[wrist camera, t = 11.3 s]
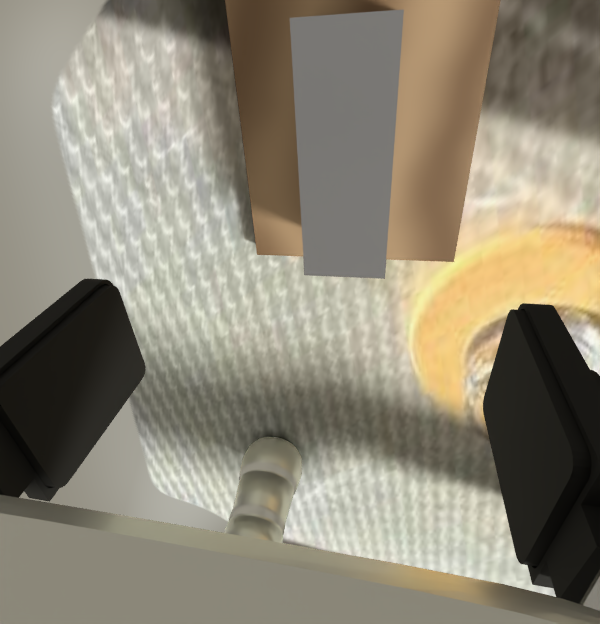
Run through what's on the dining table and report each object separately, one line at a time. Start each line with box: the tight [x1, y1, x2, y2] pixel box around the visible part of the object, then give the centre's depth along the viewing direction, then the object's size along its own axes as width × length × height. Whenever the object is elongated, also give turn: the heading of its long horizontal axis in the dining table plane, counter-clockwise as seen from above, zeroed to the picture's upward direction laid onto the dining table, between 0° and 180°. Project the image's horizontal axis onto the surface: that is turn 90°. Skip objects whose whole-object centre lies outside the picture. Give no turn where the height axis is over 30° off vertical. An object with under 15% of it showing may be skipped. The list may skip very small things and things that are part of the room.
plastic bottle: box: [224, 437, 302, 543], centre depth 38 cm, size 6×7×20 cm
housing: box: [290, 9, 404, 279], centre depth 22 cm, size 5×12×6 cm, turn 3°
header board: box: [225, 0, 500, 262], centre depth 24 cm, size 14×16×6 cm
